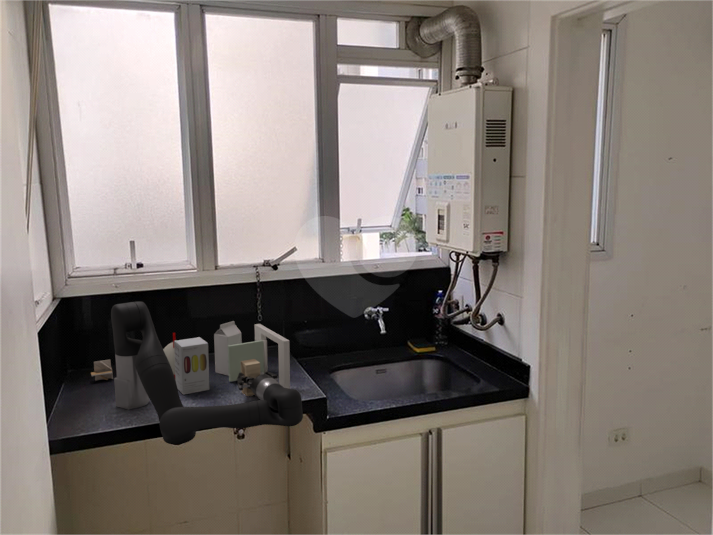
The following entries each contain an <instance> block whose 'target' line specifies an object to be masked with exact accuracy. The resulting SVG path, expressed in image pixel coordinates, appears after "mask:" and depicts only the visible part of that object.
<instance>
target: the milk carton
mask: <svg viewBox="0 0 713 535" xmlns="http://www.w3.org/2000/svg"><path fill="white" fill-rule="evenodd" d="M213 340H214V342H213V343H214V344H213V345H214V369H215V370H214V371H215V373H216V374H220V375H224V376H228V377H229V369H228V346H229V345H235V344H241V343H243V340H242V332H241V330H240V329H239V328H238V327H237V325H236V323H235V321H234V320H232V321H229V322H225V323H222V324H219V329H217V330H216V331H215V333H213Z"/></svg>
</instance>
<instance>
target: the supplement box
mask: <svg viewBox="0 0 713 535" xmlns="http://www.w3.org/2000/svg"><path fill="white" fill-rule="evenodd" d="M174 350H175V378H176V379H175V381H176V384H177V389H178V392H180V393H181V394H182V395H183V396H185V395H188V394H190V395H191V394H194V393H195V394H196V393H199V392H200V393H201V392H204V391H210V366H209V365H210V364H209V343H208V341H206V340H204V339H203V338H202V337H200V336H198V337H192V338H184V339H179V340H177V339H176V341H174Z"/></svg>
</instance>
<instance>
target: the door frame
mask: <svg viewBox="0 0 713 535" xmlns="http://www.w3.org/2000/svg"><path fill="white" fill-rule="evenodd" d="M267 339H270V340H271V341H273V342H274V343H277V344H278V346H277V348H278V350H277V351H278V352H277V353H278V383H279V384H280V385H281V386H283V387H284V388H288V389H291V367H290V366H291V365H290V364H291V360H290V359H291V358H290V354H291V352H290V350H291V349H290V340H289V339H287V338H286V337H284V336H282V335H280V334H279V333H276V332H275V331H273V330H271V329H270V328H268V327H266V326H264V325H263V324H261V323H256V324H255V323H254V341H260V340H267Z"/></svg>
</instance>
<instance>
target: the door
mask: <svg viewBox="0 0 713 535" xmlns="http://www.w3.org/2000/svg"><path fill="white" fill-rule="evenodd" d="M251 359H255V360H257V361H258V362H260V372H264V373H266V372H267V371H268V366H269V365H268V340H267V339H266V340H260V341H255V340H254V341H248V342H242V343H241V344H235V345H229V346H228V369H229V376H228V381H229V382H237V377H238V374H239V373H241V361H245V360H251ZM268 372H269V371H268Z"/></svg>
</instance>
